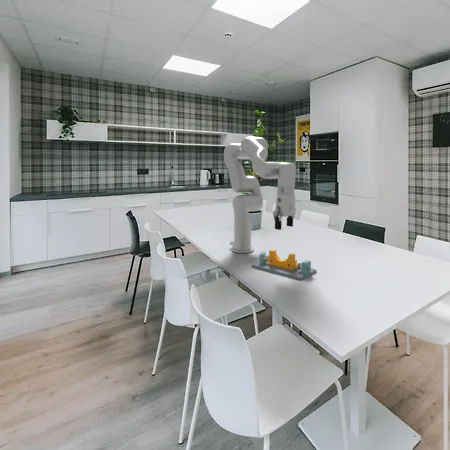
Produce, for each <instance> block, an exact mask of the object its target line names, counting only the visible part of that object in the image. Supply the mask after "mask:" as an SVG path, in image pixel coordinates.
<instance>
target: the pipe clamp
mask: <svg viewBox="0 0 450 450" xmlns="http://www.w3.org/2000/svg"><path fill="white" fill-rule="evenodd" d="M268 256H269V264H272V265H276V266H280V267H285V268H289V269H293V268H295V267H297V265H298V260H297V259H296V253H292V252H291V253H288V256H287V259H285V258H284V259H282V258H280V257H279V255H278V254H277V250H276V249H270V250H269V251H268Z"/></svg>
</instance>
